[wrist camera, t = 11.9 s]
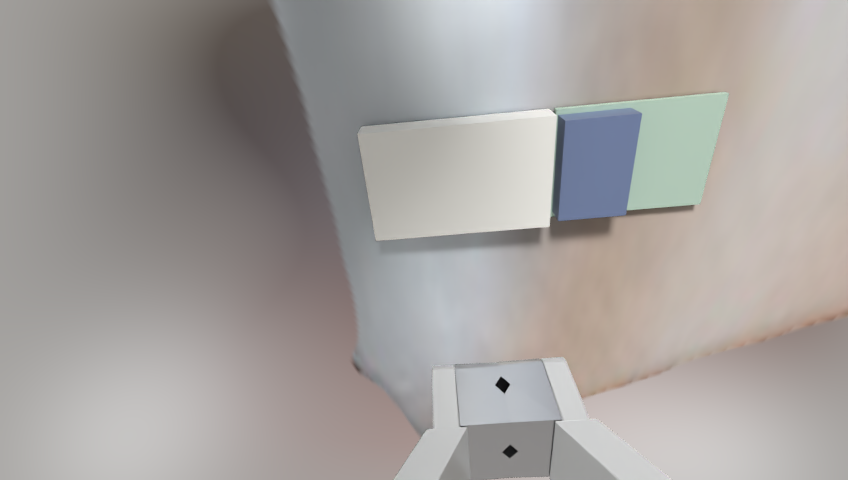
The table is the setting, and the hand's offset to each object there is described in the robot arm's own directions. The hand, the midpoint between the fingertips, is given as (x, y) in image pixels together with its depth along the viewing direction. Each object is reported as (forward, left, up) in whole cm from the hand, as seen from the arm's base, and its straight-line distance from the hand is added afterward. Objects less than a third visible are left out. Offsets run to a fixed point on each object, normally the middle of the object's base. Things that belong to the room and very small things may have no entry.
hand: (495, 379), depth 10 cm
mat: (+6, +16, -29) cm, 34 cm away
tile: (+6, +13, -28) cm, 32 cm away
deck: (+6, +1, -29) cm, 30 cm away
